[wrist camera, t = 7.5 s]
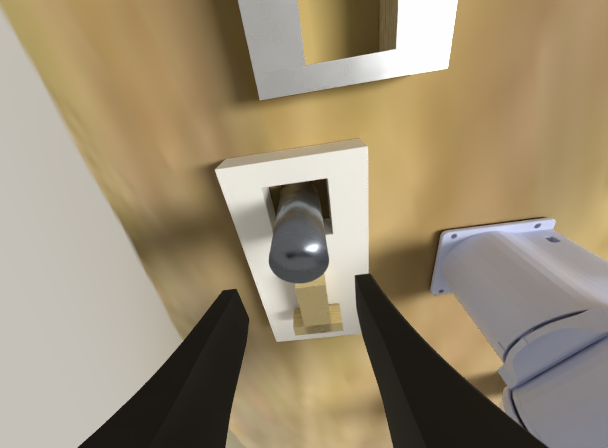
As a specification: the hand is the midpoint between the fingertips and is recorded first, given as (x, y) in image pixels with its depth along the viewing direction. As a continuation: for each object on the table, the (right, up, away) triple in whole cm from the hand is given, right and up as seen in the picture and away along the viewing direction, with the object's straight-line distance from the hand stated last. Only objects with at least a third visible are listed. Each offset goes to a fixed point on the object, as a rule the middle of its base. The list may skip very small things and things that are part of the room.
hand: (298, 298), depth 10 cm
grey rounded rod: (0, +5, +9) cm, 10 cm away
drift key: (+1, -3, +11) cm, 12 cm away
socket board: (+1, +1, +12) cm, 12 cm away
